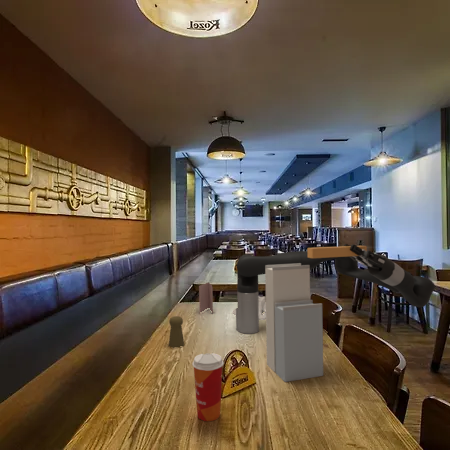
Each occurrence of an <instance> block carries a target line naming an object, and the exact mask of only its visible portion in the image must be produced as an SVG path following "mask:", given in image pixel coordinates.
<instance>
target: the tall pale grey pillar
mask: <svg viewBox="0 0 450 450" xmlns="http://www.w3.org/2000/svg"><path fill="white" fill-rule="evenodd" d="M310 271H311V270H310V265H302V266H301V263H297V264H279V265H265V274H264V275H265V300H266V320H265V322H266V323H265V325H266V327H265V329H266V330H265V331H266V333H265V334H266V337H265V339H266V341H265V342H266V366H268V367H269V368H270V370H272V372H274V373H276V342H275V303H281V302H292V301H303V300H311V279H310V278H311V274H310V273H311V272H310Z"/></svg>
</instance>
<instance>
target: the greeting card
mask: <svg viewBox="0 0 450 450" xmlns="http://www.w3.org/2000/svg"><path fill="white" fill-rule="evenodd" d="M198 291H199V292H198V295H199V296H198V298H199V301H198V302H199V313H200V312H202V311H204V310H205V309H207V308H210V310H211V311H212V313H213V314H214V306H213V304H214V303H213V299H214V298H213V285H212V284H211V283H210V282H207V283H203V284H201V285H199V286H198ZM210 310H209V311H210ZM212 313H211V314H212Z"/></svg>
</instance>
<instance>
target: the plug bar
mask: <svg viewBox="0 0 450 450" xmlns="http://www.w3.org/2000/svg"><path fill="white" fill-rule="evenodd" d="M356 246H357V247H359V248H361V249H364V250H366V251H368V249H367V248H368V246H366V245H356ZM350 248H351V245H350V246H343V245H342V246H321V247H307V250H306V251H307V252H308V258H328V257H347V256H359V255H357V254H355V253H354V252H352V251H350Z"/></svg>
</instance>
